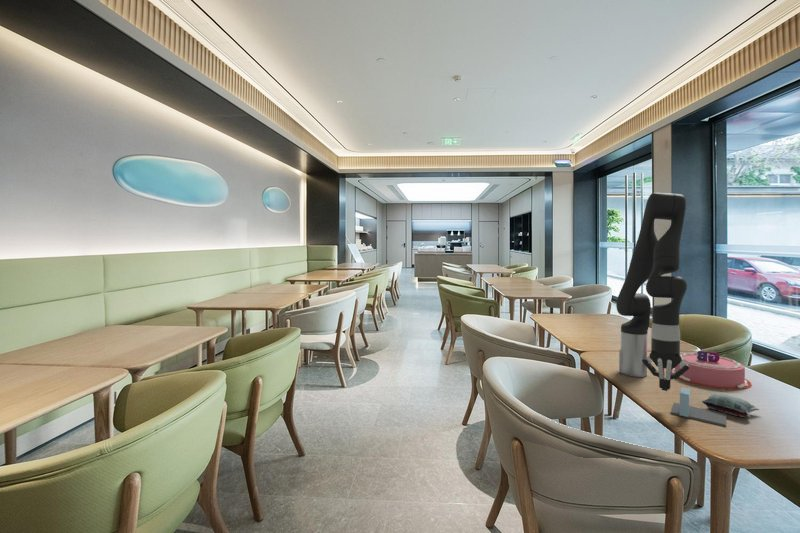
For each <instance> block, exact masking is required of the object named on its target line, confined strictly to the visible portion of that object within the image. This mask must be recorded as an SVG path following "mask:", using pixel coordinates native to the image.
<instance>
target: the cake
mask: <svg viewBox="0 0 800 533" xmlns="http://www.w3.org/2000/svg"><path fill="white" fill-rule="evenodd" d="M680 356H681V358H682V361H683V362H684V363H686V364H688V365H689V369H688V370H687V371H686V372H684V373H683V374H682V375H681V376H680V377H678V378H677V379H678V380H680V381H684V382H685V383H690V384H693V385H696V386H702V387H706V388H713V389H719V390H720V389H721V390H732V391H733V390H734V391H738V390H739V391H741V390H746V389H750V388H752V386H753V385H752V382H751V381H750V380H748V379H747V378H745V377H746V369H745V365H744V364H742V363H740V362H739V361H736V360H734V359H732V358H728V357H725V356H720V354H719V353H717V352H715V351H707V350H698V351H697V352H685V353H680ZM679 366H680V363H679V364H678V365H677V366H676V367H675V368H674V369H672V371H671V374H674V373H675V372H677V371H678V370H679V369H680V367H679Z"/></svg>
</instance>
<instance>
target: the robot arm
mask: <svg viewBox="0 0 800 533" xmlns="http://www.w3.org/2000/svg"><path fill="white" fill-rule="evenodd" d="M686 208H687V200H686V197H685V195H683V194H681V193H670V192H652V193H651V194H650V195H649V196H648V197H647V200H646V204H645V208H644V212H643V216H642V217H643V218H642V222H641V226H640V230H639V232H638V237H637V240H636V243H635V247H634V249H633V252H632V255H631V258H630V261H629V262H630V263H629V267H628V271H627V273H626V277H625V279H624V282H623V285H622V287H621V289H620V291H619V294H618V296H617V298H616V305H615V306H616V311H617V313H618V315H621V316H624V317H632V318H631V319H630V320H629V321H626V322H624V323H622V324H621V325H620V349H619V350H618V352H619V356H618V357H619V359H618V360H619V363H618V373H620V374H623V375H626V376H629V377H635V378H641V377H642V378H643V377H646V376H648V375H647V374H648V371H650V374H652V375H653V376H654V377H657V378H658V379H659V382H658V383H659V384H658V385H659V388H660V389H661V390H662V391H666V392H668V390H671V381H672V380H677V379H678V377H680V376H681V375H682V374H683V373H684V372H686V371H687V370H688V369H689V365H688V364H686V363H684V362H683V361H682V358H681V356H680V354H681V329H680V311H681V307H682V303H683V300H684V297H685V295H686V292H687V288H688V284H687V281H686V279H684V277H682V276H677V275H675V276H674V275H673V276H671V275H670V276H669V275H667V274H671V273H675V272H677V271H678V270H679V269H680V244H681V238H682V234H683V227H684V222H685V215H686ZM655 220H665V221H667V220H668V221H671V223H670V225H669V228H668V229H667V230H666V231H665V233H663V235H662V236H661V237H660V238H659V239H658V237H657V236H656V232H655V229H654V222H655ZM664 275H665V276H664ZM645 282H646V285H645V291H646V293H647V294H648V295H647V294H645V293H638V291H639V288H641V286H642V285H643V284H644V283H645ZM649 296H650V297H651V298H657V299H658V298H661V299H662V298H663V299H671V301H670V302H668V303H665V304H656V305H654V306H653V307H652V306H651V300H650V297H649ZM651 307H652V310H651ZM651 311H652V317H651ZM650 317H651V318H652V324H651V329H650V330H651V332H650V333H651V334H650V335H651V340H650V344H651V347H650V349H651V350H650V353H649V355H648V334H649V333H648V331H649V328H650V322H651V321H650V320H651V318H650ZM652 362H653V364H655V366H656V367H657V369H656V368H655V366H654V365H653V364H652ZM679 363H680V366H679V367H680V369H679V370H678V371H677V372H675V373H674V374H671V371H672V369H674V368H675V367H676V366H677V365H678V364H679ZM665 369H666V370H665Z"/></svg>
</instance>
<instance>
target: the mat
mask: <svg viewBox="0 0 800 533" xmlns="http://www.w3.org/2000/svg"><path fill="white" fill-rule="evenodd" d="M679 410H680V402H679V403H677V402H673V404H672V407H671V410H670V414H671V415H675V416H680V417H682V418H687V419H692V420H695V421H700V422H705V423H709V424H713V425H718V426H722V427H727V413H724V412H721V411H716V410H710V409H707V408H706V409H705V408H703V407H701V408H700V407H697V406H692V405H690V413H689V417H685V416H681V415H679Z"/></svg>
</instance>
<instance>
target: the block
mask: <svg viewBox="0 0 800 533" xmlns="http://www.w3.org/2000/svg"><path fill="white" fill-rule="evenodd" d="M679 404H680V410H679V415H681V416H680V417H683V416H685V417H684V418H687V417H689V413H690V406H691V388H688V387H683V386H681V389H680V392H679Z"/></svg>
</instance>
